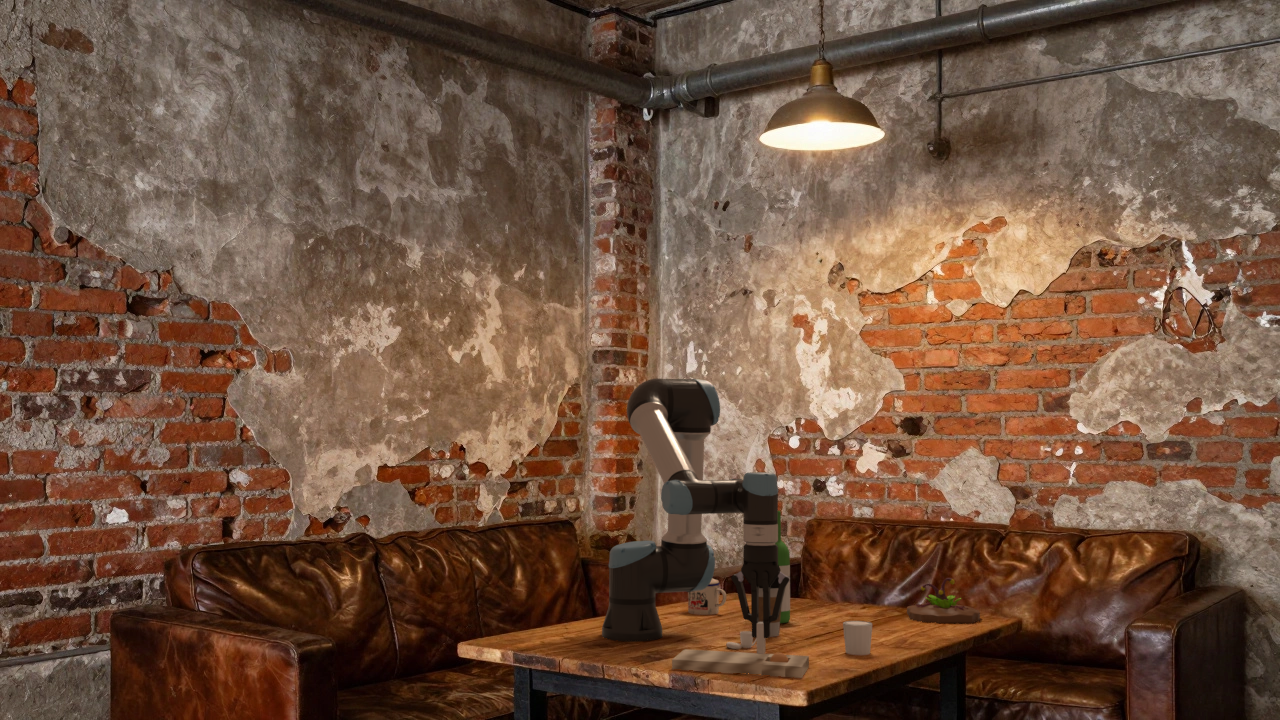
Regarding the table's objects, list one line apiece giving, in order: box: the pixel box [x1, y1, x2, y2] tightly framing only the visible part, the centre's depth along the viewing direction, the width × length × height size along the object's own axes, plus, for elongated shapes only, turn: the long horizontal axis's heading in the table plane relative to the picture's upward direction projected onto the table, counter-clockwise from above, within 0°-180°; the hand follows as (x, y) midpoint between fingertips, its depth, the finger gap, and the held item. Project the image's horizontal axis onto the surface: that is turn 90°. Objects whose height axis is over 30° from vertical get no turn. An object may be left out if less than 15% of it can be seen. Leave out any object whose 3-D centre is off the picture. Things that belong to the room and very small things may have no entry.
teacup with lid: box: [687, 577, 727, 616], centre depth 328 cm, size 12×9×12 cm
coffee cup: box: [758, 577, 782, 638], centre depth 294 cm, size 8×8×15 cm
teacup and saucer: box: [726, 630, 757, 650], centre depth 276 cm, size 9×8×4 cm
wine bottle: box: [775, 510, 791, 624], centre depth 315 cm, size 8×8×30 cm
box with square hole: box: [671, 648, 810, 679], centre depth 252 cm, size 28×12×2 cm, turn 75°
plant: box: [906, 577, 981, 625], centre depth 324 cm, size 20×20×11 cm
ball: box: [770, 652, 789, 663], centre depth 250 cm, size 4×4×4 cm
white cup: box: [842, 620, 873, 656], centre depth 271 cm, size 7×7×7 cm
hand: (761, 653), depth 251 cm, fingers closed
